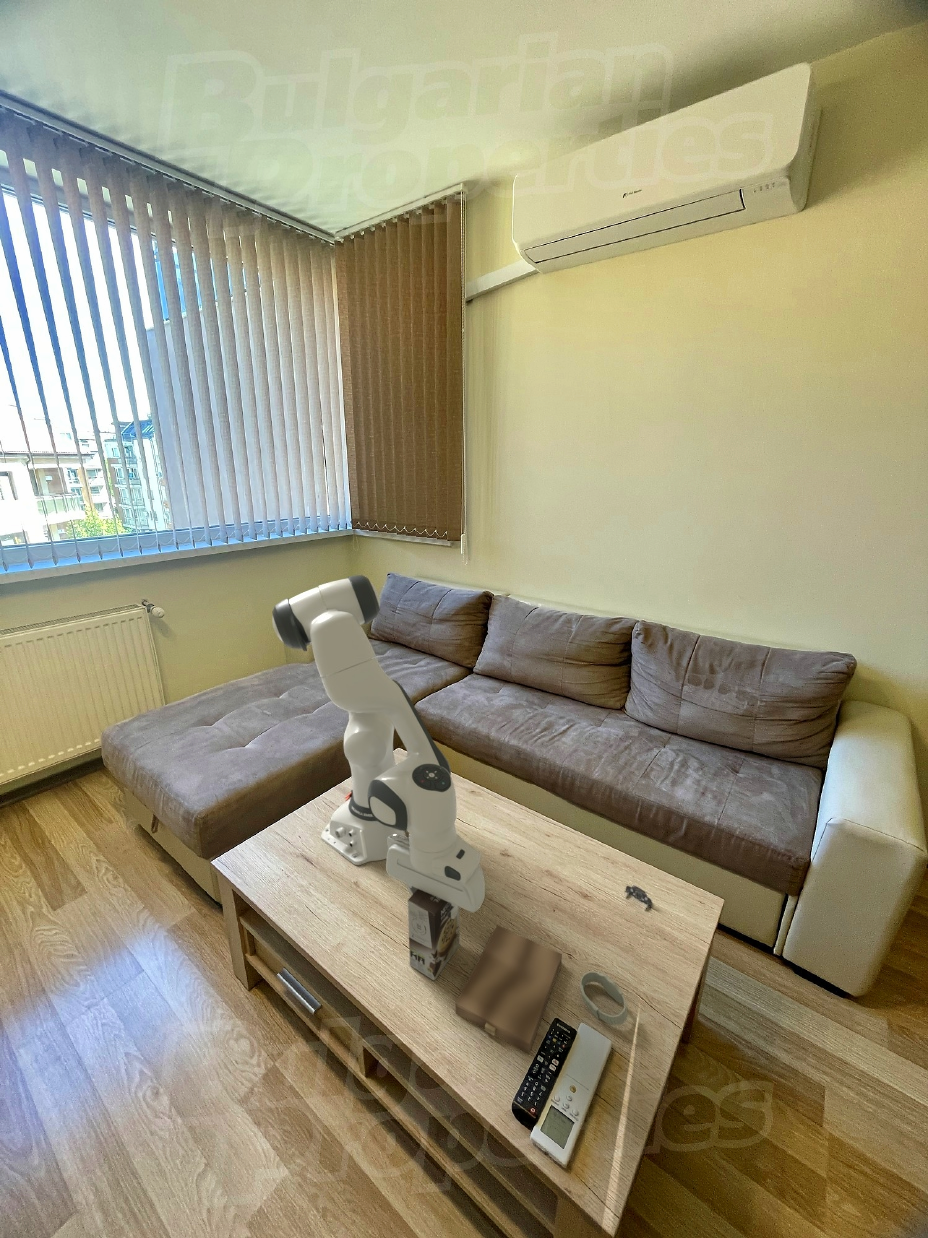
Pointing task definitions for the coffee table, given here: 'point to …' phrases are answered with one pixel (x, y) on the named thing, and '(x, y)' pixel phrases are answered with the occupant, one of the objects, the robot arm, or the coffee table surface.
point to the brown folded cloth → (510, 988)
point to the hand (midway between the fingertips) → (434, 907)
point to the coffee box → (431, 933)
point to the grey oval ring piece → (611, 990)
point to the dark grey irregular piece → (639, 895)
